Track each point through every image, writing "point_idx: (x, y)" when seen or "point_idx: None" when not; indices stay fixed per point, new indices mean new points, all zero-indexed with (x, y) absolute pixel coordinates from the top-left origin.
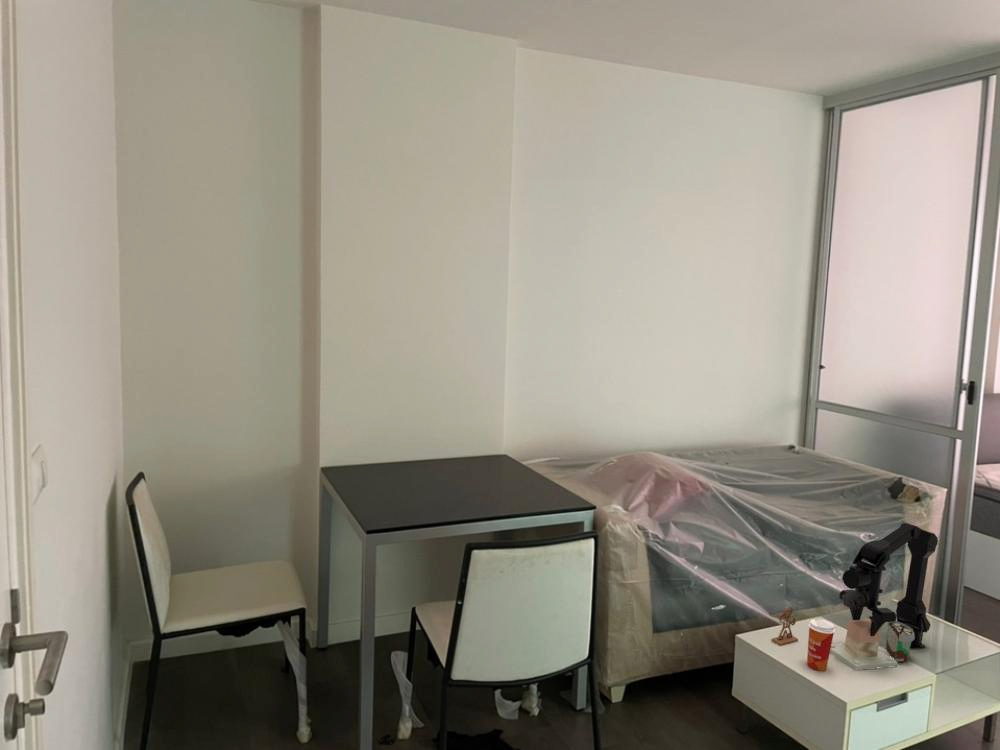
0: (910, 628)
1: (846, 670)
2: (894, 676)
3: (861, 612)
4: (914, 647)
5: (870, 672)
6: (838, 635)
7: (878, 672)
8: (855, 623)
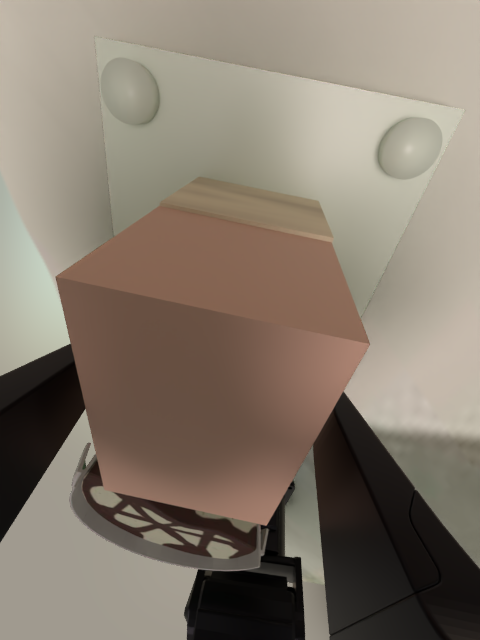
0: (152, 554)
1: None
2: (49, 249)
3: (330, 591)
4: None
5: (87, 150)
6: (460, 367)
7: (87, 203)
8: (232, 346)
